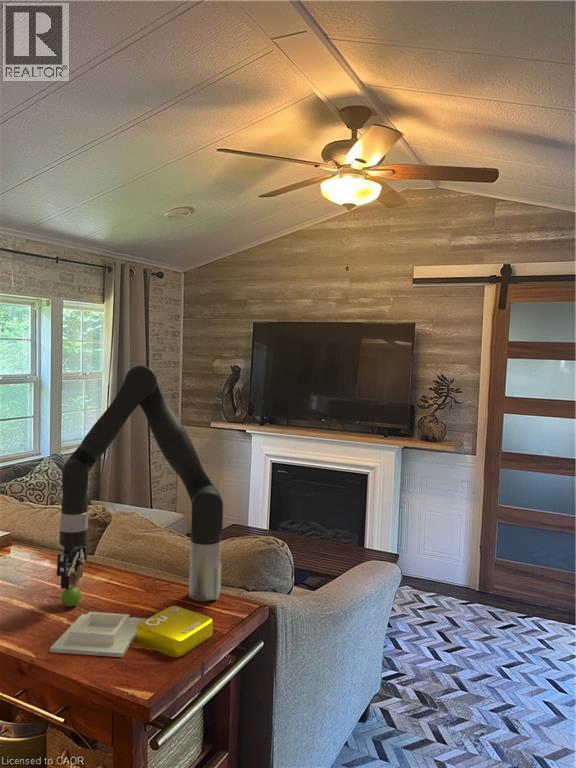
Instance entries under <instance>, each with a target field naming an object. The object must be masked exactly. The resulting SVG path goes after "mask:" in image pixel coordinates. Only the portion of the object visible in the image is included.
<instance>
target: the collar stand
mask: <svg viewBox="0 0 576 768" xmlns="http://www.w3.org/2000/svg"><path fill="white" fill-rule="evenodd" d="M146 619H147V618H145V617H134V616H133V617H130V614H127V613H111V612H99V611H89V612H88V613H87V614H86V613H85V614H84V613H82V614H81V615H79V617H78V618H76V620H75V621H74V622H73V623H72V624H71V625H70V627H68V629H66V630H65V632H64V633H63V634H62V635H61V636H59V638H57V640H56V641H55V642H54V643H53V644H52V645H51V646H50V648H49V653H58V654H74V655H84V656H85V655H88V656H101V657H112V658H114V657H116V658H123V657H124V656H125V654H126V652H127V651H128V649H129V648H130V646H131V645H132V644H133V642H134V641H135V640H136V634H137V625H138V624H139V623H141V622H142V621H144V620H146Z"/></svg>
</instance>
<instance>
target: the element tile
mask: <svg viewBox="0 0 576 768" xmlns="http://www.w3.org/2000/svg"><path fill="white" fill-rule="evenodd" d="M213 623H214V620H213V618H212V617H210V616H207V615H204V614H201V613H199V612H195V611H192V610H189V609H186V608H183V607H181V606H177V605H171V606H169V607H167V608H165V609H162V611H159V612H158V613H156V614H154V615H152V616H150V617H148V618H146V620H144V621H142V622H141V623H139V624H138V625H137V634H136V638H135V640H136V643H137V644H139V645H142V646H144V647H146V648H150V649H152V650H154V651H156V652H160V653H161V654H163V655H166V656H169V657H172V658H180V657H181V656H184V655H185V654H187V653H189V652H190V651H192V650H193V649H194V648H196V647H198V646H199V645H200V644H202V643H204V642H206V640H208V639H210V638H211V637H212V636H213V630H214V629H213V625H214V624H213Z"/></svg>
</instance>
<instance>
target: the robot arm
mask: <svg viewBox="0 0 576 768" xmlns="http://www.w3.org/2000/svg"><path fill="white" fill-rule="evenodd" d="M138 406H140V408H141V409H142V411H143V413H144V414H145V417H146V419H147V423H148V425H149V429H150V430H151V432H152V435H153V437H154V441H155V442H156V444H157V446H158V448H159V449H160V451H161V453H162V455H163V457H164V458H165V460H166V461H167V463H168V464H169V465H170V467H171V468H172V470H173V471H174V472H175V473H176V474H177V475H178V477H179V478H180V479H181V481H182V484H184V487H185V489H186V492H187V494H188V496H189V499H190V501H191V502H190V503H191V527H190V528H191V529H190V550H189V551H190V552H189V553H190V554H189V579H188V580H189V581H188V585H189V586H188V597H189V598H190V599H191V600H193V601H196V602H197V601H198V602H209V601H217V600H218V599H219V597H220V594H221V590H222V589H221V586H222V561H221V549H222V548H221V546H222V545H221V544H222V533H223V519H224V518H223V517H224V501H223V498H222V495H221V493H220V492H219V490H218V489H217V488H216V486H215V485H214V484H213V482H212V480H211V479H210V478H209V476H208V475H207V473H206V471H205V469H204V468H203V466H202V464H201V461H200V458H199V455H198V453H197V450H196V448H195V445H194V444H193V442H192V440H191V438H190V436H189V434H188V432H187V431H186V429H185V427H184V425H183V424H182V422H181V420H180V419H179V418H178V416H177V414H175V412H174V411H173V410H172V408H171V407H170V405H169V404H168V402H167V401H166V399H165V396H164V394H163V392H162V389H161V386H160V384H159V382H158V377H157V373H155V371H154V369H152V368H151V367H149V366H147V365H136V366H133V367H131V368H130V369H129V370H128V371H127V373H126V374H125V378H124V381H123V383H122V385H121V387H120V388H119V390H118V393H117V395H116V397H115V398H114V399H113V400H112V402H111V404H110V405H109V406H108V407H107V409H106V410H105V411H104V412H103V414H101V416H100V417H99V418H98V419H97V421H96V422H95V423H94V424H93V426H92V427H91V429H90V430H89V431H88V432H87V434H86V435H85V437H84V438H83V439H82V441H81V443H80V445H79V446H78V447H77V448H76V449H75V451H74V452H73V453H72V454H71V455H70V456H69V458H68V459H67V461H66V462H65V464H64V466H63V469H62V471H61V473H62V474H61V486H62V487H61V488H62V498H61V514H60V519H59V521H60V522H59V541H58V542H59V546H61V547H63V548H64V549H63V553H58V555H57V560H56V561H57V564H56V577H60V589H62V590H65V589H68V588H69V584H70V572H71V570H72V569H74V571H76V572H77V571H78V569H77V568H78V566H79V565H81V566H82V570H81V577H80V578H82V577H83V574H84V573H83V571H84V564H85V561H87V559H88V534H89V533H88V532H89V531H88V529H89V515H88V513H89V512H88V508H89V507H88V504H89V503H88V502H89V501H88V500H89V499H88V497H89V496H88V487H89V485H88V484H89V474H90V471H91V470H92V468H93V467H94V465H95V463H96V462H97V461H98V459H99V458H100V457H102V456H103V455H104V454H105V453H106V451H107V450H108V449H109V447H110V446H111V445H112V442H113V441H114V440H115V439H116V437H117V435H118V434H119V433H120V431H121V430H122V428H123V426H124V424H125V423H126V421H127V420H128V418H130V416H131V415H132V413H133V412H134V411H135V409H137V407H138ZM79 561H83V563H79Z"/></svg>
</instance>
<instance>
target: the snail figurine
mask: <svg viewBox="0 0 576 768" xmlns="http://www.w3.org/2000/svg"><path fill="white" fill-rule="evenodd" d="M79 563H83V561H79ZM77 569H78V571H77V572H76V571H75V569H73V570H72V569H71V572H70V584H69V588H68V589H63V591H62V593H61V596H60V600H61V603H62V604H63V605H64V606H65V607H68V608H69V607H75V606H77V605H78V604H79V603H80V601H81V600H82V591H81V590H80V589H79V588H78V587H76V586H77V585H78V584H79V582H80V579H81V578H82V577H81V570H82V566H81V565H79V566H78V568H77Z"/></svg>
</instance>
